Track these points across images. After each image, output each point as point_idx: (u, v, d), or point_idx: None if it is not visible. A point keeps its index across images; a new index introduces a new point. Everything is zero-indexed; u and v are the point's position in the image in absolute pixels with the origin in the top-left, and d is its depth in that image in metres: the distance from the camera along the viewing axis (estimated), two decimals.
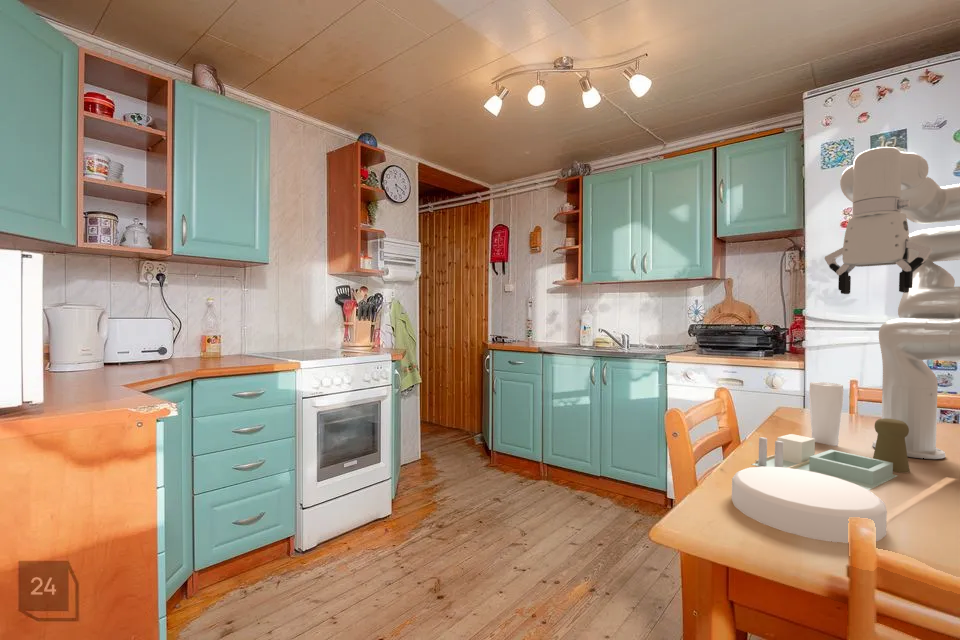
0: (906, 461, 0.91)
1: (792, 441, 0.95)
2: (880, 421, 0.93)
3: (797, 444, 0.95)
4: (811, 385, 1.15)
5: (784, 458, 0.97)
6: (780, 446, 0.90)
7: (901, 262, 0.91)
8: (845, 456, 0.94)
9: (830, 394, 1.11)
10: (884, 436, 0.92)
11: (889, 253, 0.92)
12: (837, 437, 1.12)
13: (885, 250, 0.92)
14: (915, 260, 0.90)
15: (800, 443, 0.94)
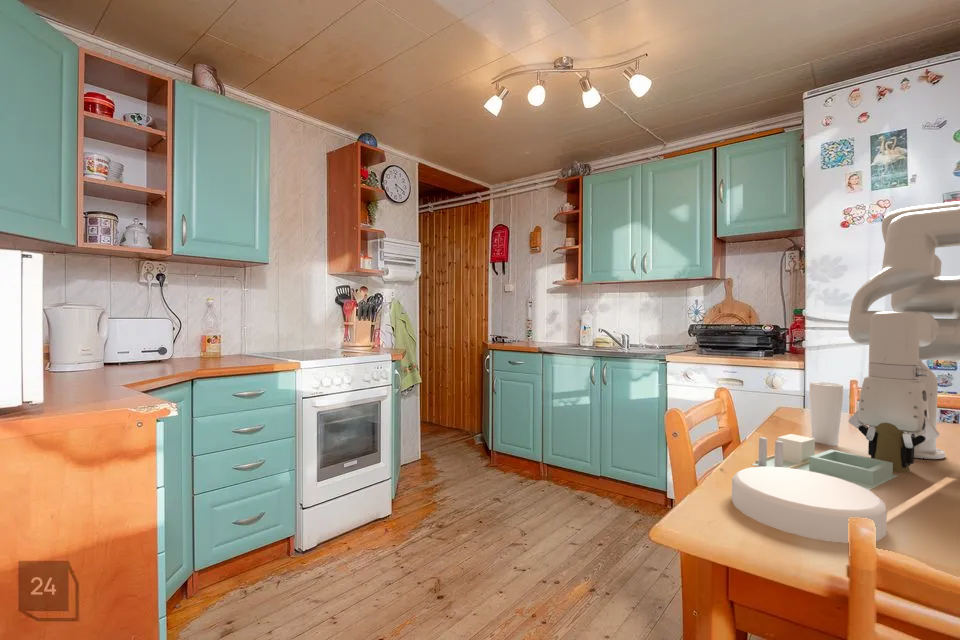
0: None
1: (792, 441, 0.95)
2: None
3: (797, 444, 0.95)
4: (811, 385, 1.15)
5: (784, 458, 0.97)
6: (780, 446, 0.90)
7: (907, 437, 0.90)
8: (845, 456, 0.94)
9: (830, 394, 1.11)
10: (884, 436, 0.92)
11: (907, 423, 0.89)
12: (837, 437, 1.12)
13: (903, 419, 0.90)
14: (917, 438, 0.89)
15: (800, 443, 0.94)
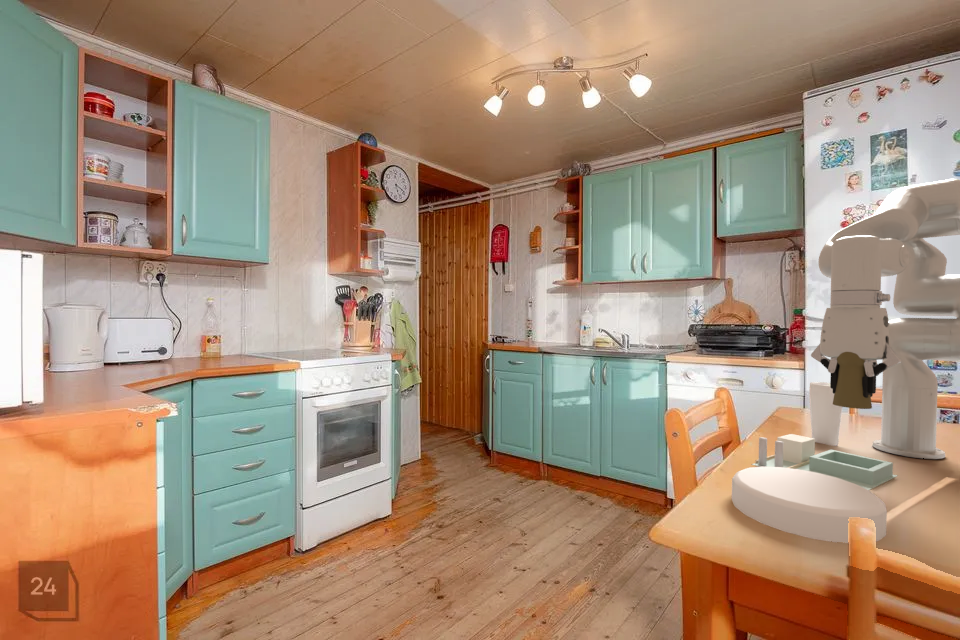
0: None
1: (792, 441, 0.95)
2: None
3: (797, 444, 0.95)
4: (811, 385, 1.15)
5: (784, 458, 0.97)
6: (780, 446, 0.90)
7: (869, 365, 0.86)
8: (845, 456, 0.94)
9: (830, 394, 1.11)
10: (845, 366, 0.89)
11: (868, 350, 0.86)
12: (837, 437, 1.12)
13: (864, 347, 0.86)
14: (878, 366, 0.86)
15: (800, 443, 0.94)
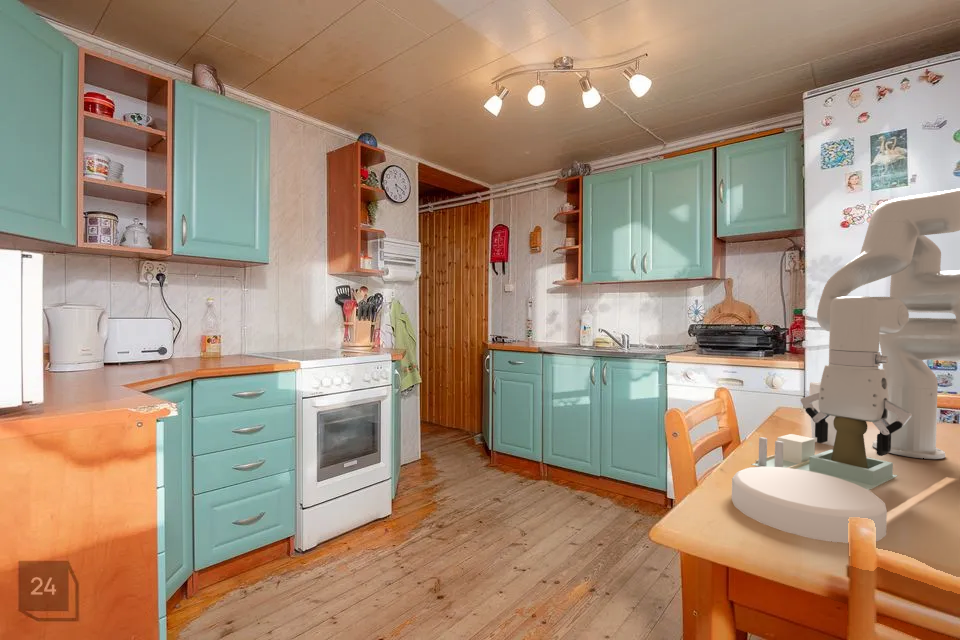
0: (864, 459, 0.88)
1: (792, 441, 0.95)
2: (839, 417, 0.90)
3: (797, 444, 0.95)
4: (811, 385, 1.15)
5: (784, 458, 0.97)
6: (780, 446, 0.90)
7: (879, 423, 0.85)
8: None
9: None
10: (842, 432, 0.89)
11: (866, 412, 0.86)
12: None
13: (862, 408, 0.86)
14: (893, 424, 0.84)
15: (800, 443, 0.94)
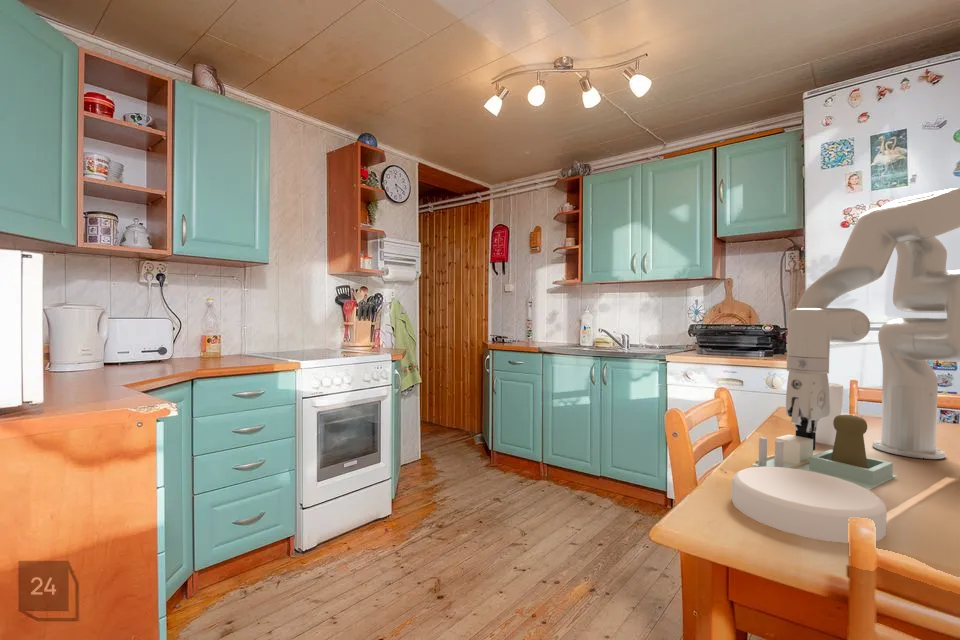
0: (864, 459, 0.88)
1: (790, 442, 0.95)
2: (838, 417, 0.90)
3: (795, 444, 0.94)
4: None
5: None
6: (780, 446, 0.90)
7: None
8: None
9: (830, 394, 1.11)
10: (842, 432, 0.89)
11: None
12: None
13: None
14: None
15: (798, 444, 0.94)
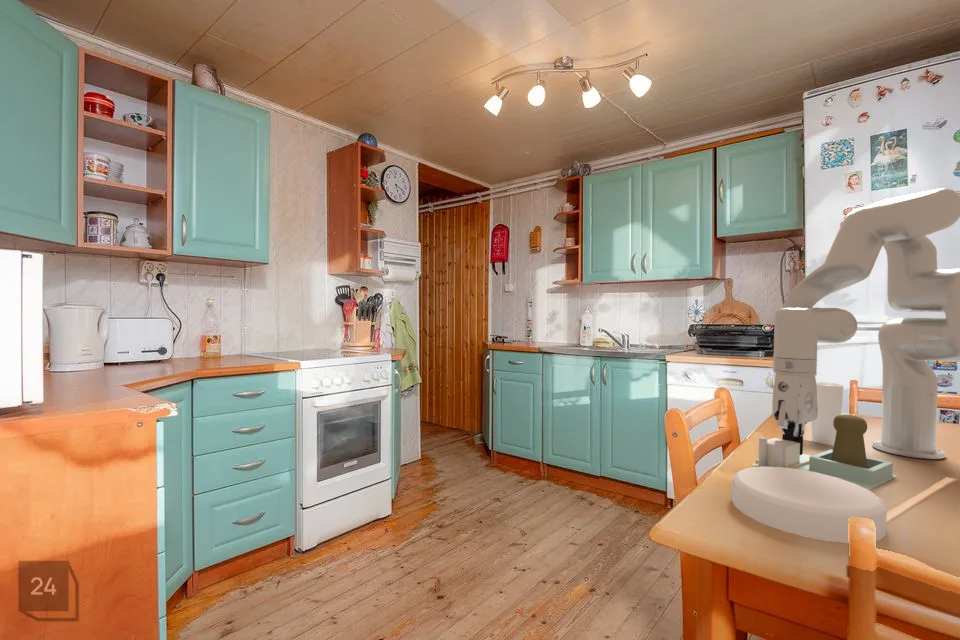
0: (864, 459, 0.88)
1: None
2: (838, 417, 0.90)
3: None
4: None
5: (767, 463, 0.93)
6: (780, 446, 0.90)
7: None
8: None
9: (830, 394, 1.11)
10: (842, 432, 0.89)
11: None
12: None
13: None
14: None
15: (784, 448, 0.91)
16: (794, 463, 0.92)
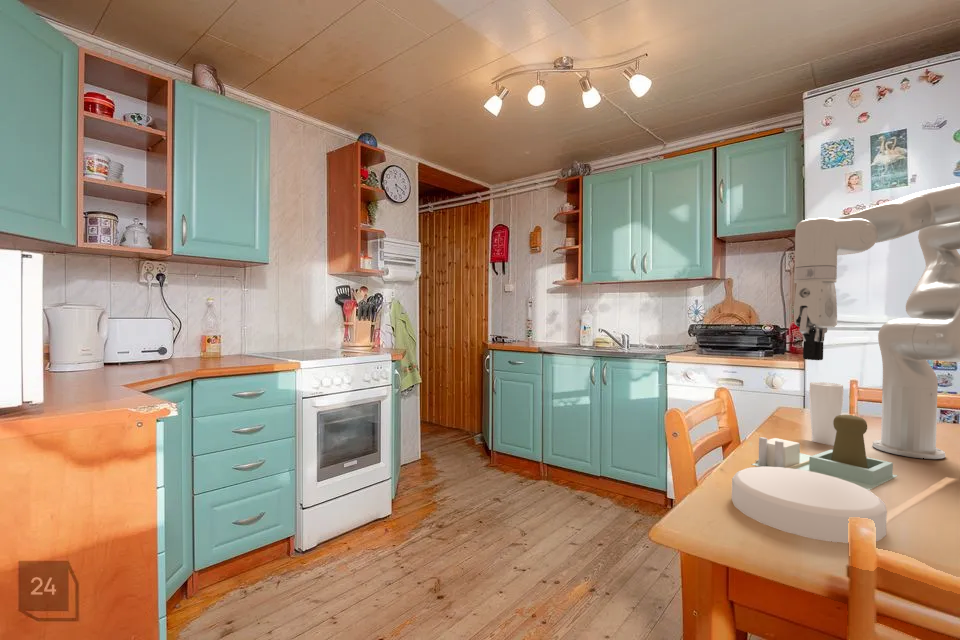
0: (864, 459, 0.88)
1: None
2: (838, 417, 0.90)
3: None
4: (811, 385, 1.15)
5: (767, 463, 0.93)
6: (780, 446, 0.90)
7: None
8: None
9: (830, 394, 1.11)
10: (842, 432, 0.89)
11: None
12: None
13: None
14: None
15: (784, 448, 0.91)
16: (794, 463, 0.92)
